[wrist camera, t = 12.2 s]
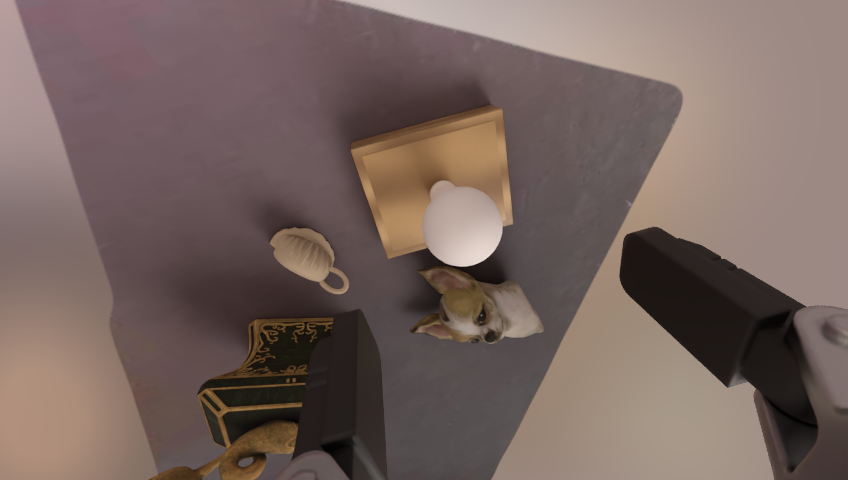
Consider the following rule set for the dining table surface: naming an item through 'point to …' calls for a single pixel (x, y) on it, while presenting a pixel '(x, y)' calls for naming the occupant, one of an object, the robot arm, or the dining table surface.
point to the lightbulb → (461, 224)
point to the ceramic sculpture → (476, 308)
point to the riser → (431, 171)
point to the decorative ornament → (307, 256)
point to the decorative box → (258, 398)
